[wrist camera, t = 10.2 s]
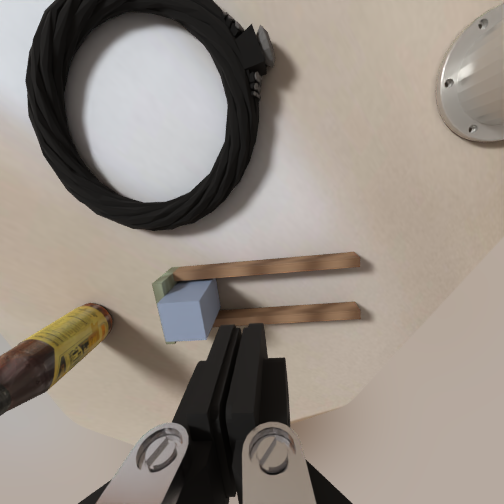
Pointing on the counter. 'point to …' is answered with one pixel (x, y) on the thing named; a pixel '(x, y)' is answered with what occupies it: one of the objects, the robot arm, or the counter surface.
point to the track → (267, 267)
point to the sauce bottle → (50, 354)
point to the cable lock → (229, 67)
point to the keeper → (189, 310)
